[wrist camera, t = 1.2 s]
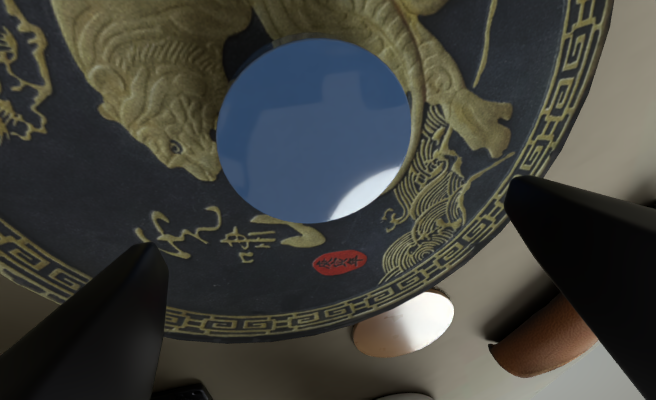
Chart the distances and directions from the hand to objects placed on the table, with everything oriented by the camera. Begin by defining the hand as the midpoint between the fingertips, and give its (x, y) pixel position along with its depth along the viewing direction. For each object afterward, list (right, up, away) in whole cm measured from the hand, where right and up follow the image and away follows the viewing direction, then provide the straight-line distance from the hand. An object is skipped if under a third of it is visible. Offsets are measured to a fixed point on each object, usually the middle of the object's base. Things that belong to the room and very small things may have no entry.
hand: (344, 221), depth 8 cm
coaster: (+6, -10, +18) cm, 22 cm away
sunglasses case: (+22, -7, +21) cm, 31 cm away
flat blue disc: (-1, +4, +5) cm, 7 cm away
